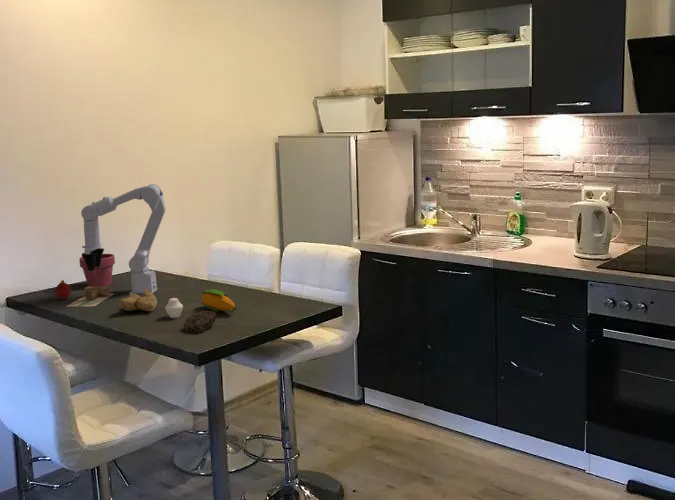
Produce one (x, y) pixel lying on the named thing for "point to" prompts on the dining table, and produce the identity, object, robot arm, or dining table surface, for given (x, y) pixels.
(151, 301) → the ginger root
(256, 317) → the dining table surface
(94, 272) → the plant pot
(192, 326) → the dark brown lumpy piece
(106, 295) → the t block
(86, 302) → the board
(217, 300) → the corn
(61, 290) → the onion
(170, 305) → the white jar
